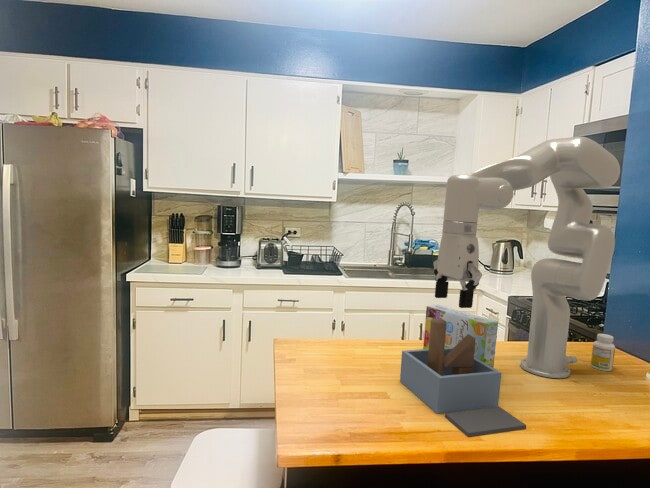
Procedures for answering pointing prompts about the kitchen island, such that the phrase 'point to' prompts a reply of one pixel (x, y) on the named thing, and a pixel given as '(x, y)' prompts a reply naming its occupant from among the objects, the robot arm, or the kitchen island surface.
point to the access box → (450, 384)
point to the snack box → (464, 331)
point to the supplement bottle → (603, 353)
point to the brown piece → (457, 357)
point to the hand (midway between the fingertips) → (452, 302)
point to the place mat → (484, 421)
